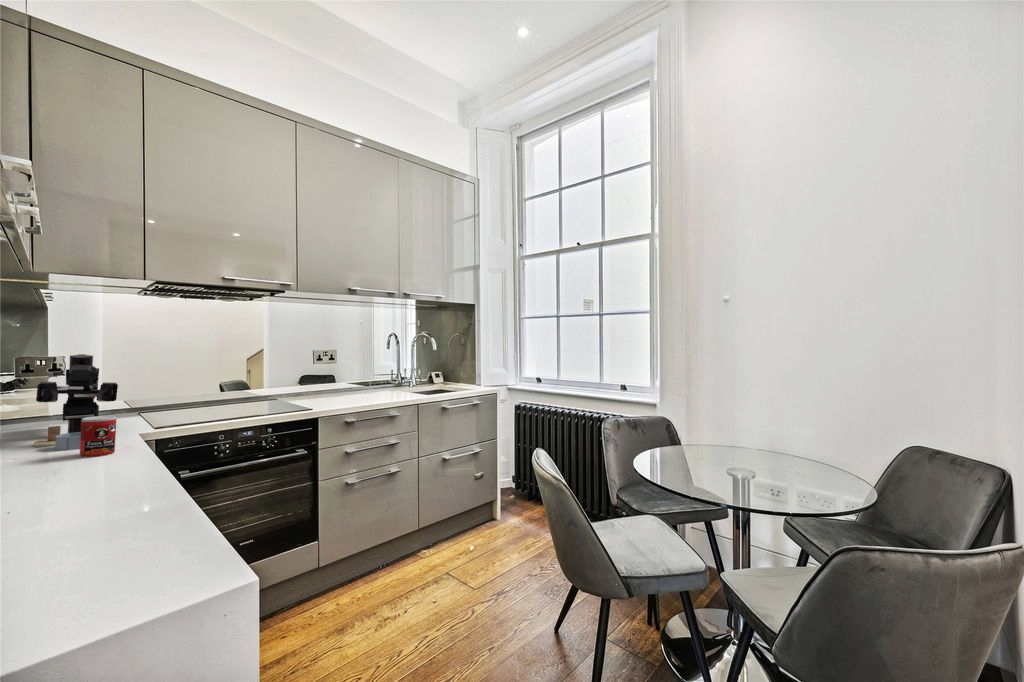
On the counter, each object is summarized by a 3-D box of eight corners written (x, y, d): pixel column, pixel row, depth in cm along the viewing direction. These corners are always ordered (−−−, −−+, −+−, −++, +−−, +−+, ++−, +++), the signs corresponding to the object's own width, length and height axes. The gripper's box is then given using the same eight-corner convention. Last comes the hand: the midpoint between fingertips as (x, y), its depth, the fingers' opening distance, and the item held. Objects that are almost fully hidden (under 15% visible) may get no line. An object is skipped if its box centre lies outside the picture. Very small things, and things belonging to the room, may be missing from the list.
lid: (34, 443, 139) (35, 426, 140) (72, 439, 146) (73, 423, 146) (33, 447, 133) (33, 429, 134) (72, 443, 140) (73, 426, 140)
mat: (35, 444, 140) (36, 442, 140) (71, 441, 146) (71, 439, 146) (34, 449, 133) (34, 447, 133) (71, 446, 139) (71, 444, 139)
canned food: (82, 458, 123) (84, 420, 124) (77, 454, 128) (78, 417, 129) (117, 454, 130) (119, 417, 130) (111, 450, 134) (113, 414, 135)
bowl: (55, 448, 135) (56, 434, 135) (95, 444, 142) (95, 430, 142) (54, 453, 129) (55, 438, 129) (96, 449, 136) (96, 434, 136)
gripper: (42, 362, 141) (36, 373, 129) (119, 364, 154) (120, 374, 142) (39, 395, 141) (32, 408, 130) (115, 395, 154) (116, 407, 143)
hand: (77, 398), depth 136 cm, fingers open, 9 cm apart
